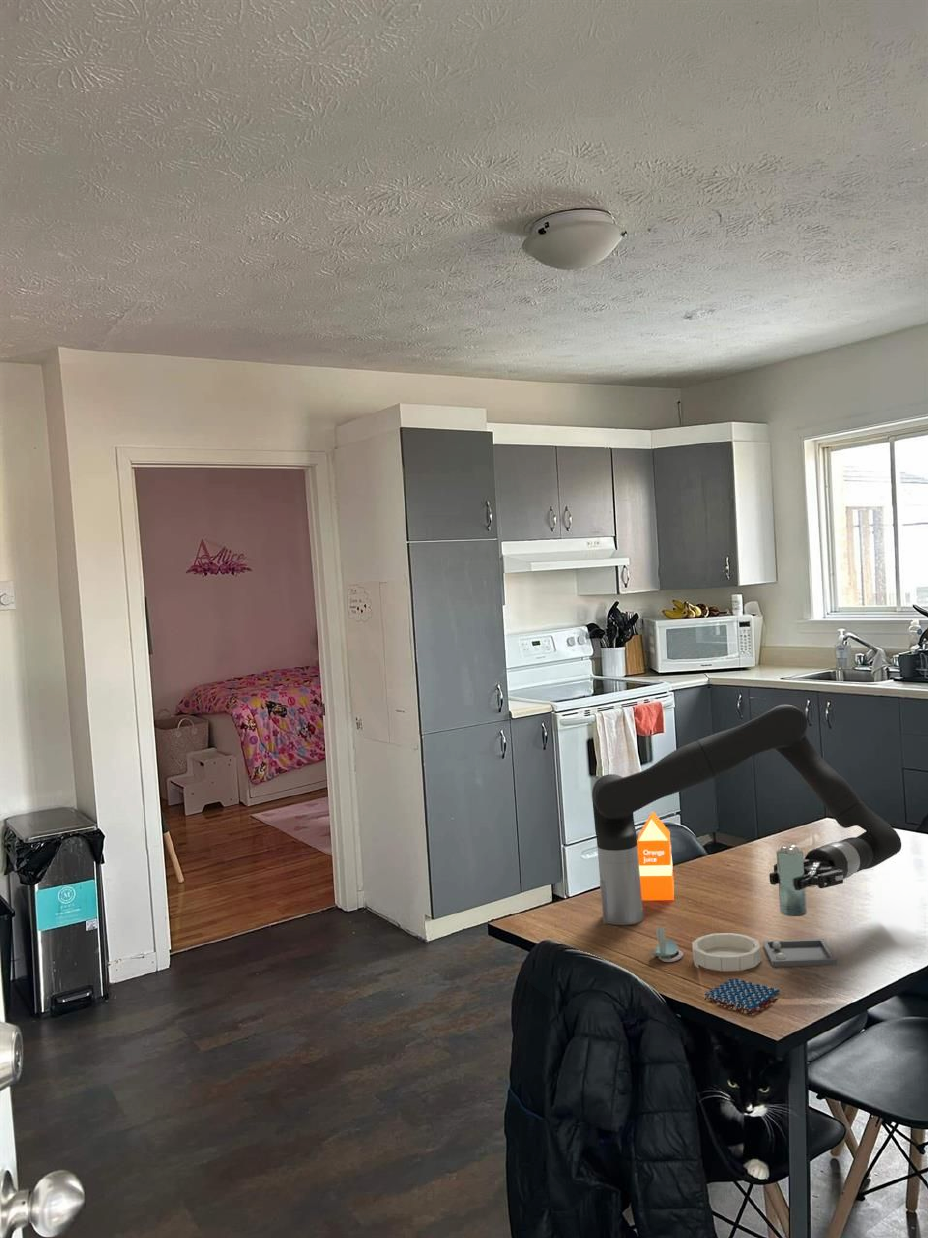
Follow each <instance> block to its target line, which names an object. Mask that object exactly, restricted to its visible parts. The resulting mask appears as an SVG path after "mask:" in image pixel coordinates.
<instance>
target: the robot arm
mask: <svg viewBox="0 0 928 1238" xmlns="http://www.w3.org/2000/svg"><path fill="white" fill-rule="evenodd" d="M808 724H809V723H808V718H807V715H806V714H805V712H804V711H803V710H802V709H800V708H799V707H798V706H794V705H790V704H779V705H777V706H774V707H772V708H770V709H768V710H767V711H765V712H764V713H762V714H761V715H759V716H757V717H755V718H753V719H751V720H749V721H746V722H745V723H742V724H740V725H738V726H735V727H733V728H729V729H726V730H723V731H720V732H717V733H713V734H712V735H709V736H706V737H703V738H700V739H697V740H694V741H693V742H690V743H688V744H686V745H683V746H681V747H678V748H677V749H675V750H673V751H671V752H670V753H669V754H667V755H665V756H664V757H663V758H661V759H660V760H658V761H657V762H656V763H654V764H653V765H651V766H650V767H648V768H645V769H644V770H642V771H639V772H636V773H633V774H630V775H627V776H621V775H618V774H613V773H610V774H609V773H608V774H605V775H602V776H601V777H599V778H598V779H597V780H596V781H595V783H594V785H593V788H592V792H591V793H592V794H591V796H592V797H591V799H592V810H593V811H592V812H593V819H594V820H593V821H594V831H595V836H596V846H597V857H598V871H599V885H600V888H599V889H600V899H601V908H602V909H601V910H602V920H603V924H605V925H606V924H610V925H616V926H630V925H635V924H639V923H640V922H641V921H643V920H644V907H643V900H642V892H641V880H640V870H639V857H638V845H637V840H638V835H637V830H636V824H635V818H634V816H635V815H634V813H635V812H637V811H639V810H641V809H642V808H644V807H645V806H649V805H650V804H652V803H653V802H656V801H657V800H660V799H663V798H665V797H667V796H671V795H674V794H677V793H679V792H682V791H685V790H686V789H687V790H688V789H689V788H692V787H696V786H698V785H700V784H701V785H702V784H703V783H706V782H709V781H710V780H712V779H715V778H717V777H719V776H721V775H724V774H725V773H727V772H729V771H731V770H732V769H734V768H736V767H737V766H739V765H741V764H742V763H743V762H745V761H746V760H748V759H750V758H752V757H753V756H756V755H758V754H761V753H764V752H766V751H769V750H772V749H775V750H776V751H777V752H778V753H780V755H781V756H783V758H785V760H787V762H789V764H791V766H793V768H794V769H795V770H796V771H797V772H798V773H799V774H800V776H801V777H802V778H803V780H804V781H805V782H806V783H807V784H808V785H809V787H810V788H811V790H812V791H813V793H814V794H815V795H816V796H817V797H818V799H819V801H821V803H822V804H823V806H825V808H826V809H827V812H829V813H830V815H831V816H832V818H833V819H834V820H835V821H836V823H837V824H838V825H839V826H840V827H841V828H843V829H848V828H851V827H855V826H857V827H860V828H861V829H862V830H864V832H863V833H861V834H859V835H858V836H855V837H848V838H845V839H841V840H838V841H835V842H830V843H828V844H824V845H822V846H819V847H817V848H813V849H812V850H810V851H809V852H807V854H806V856H805V857H804V858H803V860H804V875H803V876H800V877H798V878H795V879H794V888H795V890H801V889H804V888H805V889H806V888H808V887H809V888H815V887H817V888H818V889H826V888H829V887H834V886H838V885H841V884H844V880H845V879H848V878H849V877H851V876H852V875H854V874H856V873H858V872H862V871H864V870H868V869H872V868H874V867H876V866H878V865H881V864H882V863H884V862H886V860H888V859H890V858H892V857H894V856H896V855H897V854H899V852H900V851H901V849H902V840H901V837H900V835H899V834H898V832H897V831H896V829H895V828H894V827H892V825H890V824H889V823H888V822H887V821H885V820H884V819H883V818H881V817H880V816H879V815H878V814H876V813H875V812H874V811H873V810H871V809H870V808H869V807H868V806H866V805H865V803H864V802H863V801H862V800H861V799H860V797H859V796H858V795H857V792H855V791H854V789H853V788H852V787H851V785H850V784H849V783H848V782H847V781H846V780H845V779H844V778H843V777H842V776H841V775H840V774H839V773H838V772H837V771H836V770H835V769H834V768H833V767H832V766H830V764H828V763H827V762H826V760H824V759H823V758H822V756H821V755H820V754H819V753H818V752H817V750H816V749H815V748H814V745H812V743H811V741H810V740H809V738H808V736H807V734H806V733H807V730H808ZM768 878H769V883H770V884H771V885H773V886H775V885H779V883H778V868H777V863H775V864H774V865H773V871H772V872H770V873H769V877H768Z"/></svg>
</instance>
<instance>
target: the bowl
mask: <svg viewBox="0 0 928 1238" xmlns="http://www.w3.org/2000/svg"><path fill="white" fill-rule="evenodd" d="M691 948H692V957H693V964H694V967H695V968H697V969H699V966H700V967H702V968H704V969H706V970H712V971H717V972H740V971H741V972H742V971H746V970H749V969H752V968H755V967H757V966H758V965H759V964H760V963H761V962H762V947H761V944H760V942H759V940H757V939H756V938H753V937H751V936H748V935H745V934H740V933H733V932H725V933H724V932H721V933H719V932H718V933H710V934H705V935H703V936H699V937H697V938H696V939H695V940H694V941H692V942H691Z"/></svg>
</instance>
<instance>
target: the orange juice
mask: <svg viewBox="0 0 928 1238" xmlns="http://www.w3.org/2000/svg"><path fill="white" fill-rule="evenodd" d="M637 846H638V858H639V870H640V882H641V894H642V901H674V897H675V895H674V894H675V882H674V881H675V880H674V870H673V869H674V868H673V857H672V844H671V832H670V830H669V828H667V826H666V825H665V824H664V823H663V822H662V821H661V819H660V818H659V817H658V815H657V814H656V813H655V812H654V811H653V810H652V811H651V813H650V815H649V817H648V819H647V820H646V822H645V823H644V825H643V826H642V828H641V830H640V831H639V832H638V835H637Z"/></svg>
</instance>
